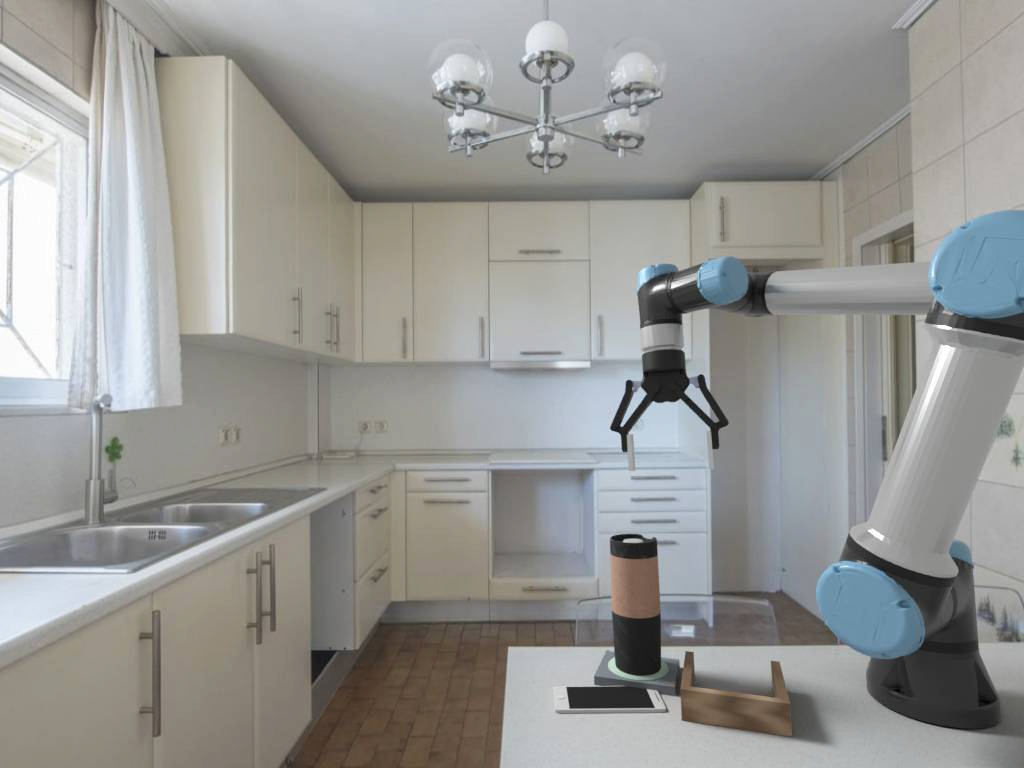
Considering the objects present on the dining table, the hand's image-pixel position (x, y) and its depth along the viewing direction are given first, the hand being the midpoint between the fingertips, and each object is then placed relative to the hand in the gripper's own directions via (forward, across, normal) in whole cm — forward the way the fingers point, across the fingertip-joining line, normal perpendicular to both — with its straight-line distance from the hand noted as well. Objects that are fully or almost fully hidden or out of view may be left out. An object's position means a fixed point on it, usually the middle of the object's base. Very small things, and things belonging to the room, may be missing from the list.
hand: (671, 470), depth 99 cm
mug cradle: (+32, -8, +15) cm, 36 cm away
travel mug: (+30, +6, +10) cm, 32 cm away
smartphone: (+32, +10, +19) cm, 39 cm away
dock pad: (+32, +6, +10) cm, 34 cm away
